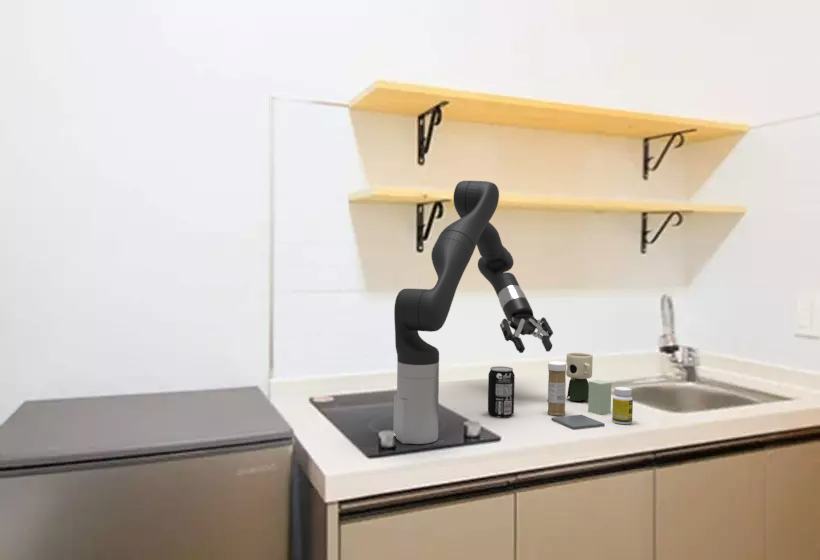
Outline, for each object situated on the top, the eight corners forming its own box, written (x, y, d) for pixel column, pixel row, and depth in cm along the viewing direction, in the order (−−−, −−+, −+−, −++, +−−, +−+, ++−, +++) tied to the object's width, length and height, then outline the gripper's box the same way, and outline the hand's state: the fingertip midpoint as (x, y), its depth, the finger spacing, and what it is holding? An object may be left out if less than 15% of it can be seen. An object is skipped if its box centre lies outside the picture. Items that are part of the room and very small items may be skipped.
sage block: (599, 414, 165) (600, 384, 165) (588, 411, 169) (588, 381, 168) (610, 413, 167) (611, 382, 167) (598, 409, 171) (599, 379, 170)
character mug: (557, 396, 186) (558, 351, 185) (580, 395, 187) (581, 351, 187) (576, 405, 175) (577, 358, 174) (600, 404, 177) (601, 357, 176)
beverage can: (496, 410, 169) (497, 365, 168) (518, 414, 164) (519, 368, 164) (482, 415, 164) (483, 368, 163) (505, 419, 159) (506, 371, 159)
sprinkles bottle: (562, 411, 168) (563, 360, 167) (567, 416, 163) (568, 364, 163) (545, 411, 168) (546, 360, 167) (549, 416, 163) (550, 363, 162)
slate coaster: (573, 429, 151) (573, 427, 151) (551, 419, 160) (551, 417, 160) (604, 426, 155) (604, 423, 155) (581, 416, 163) (581, 414, 163)
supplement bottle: (631, 425, 155) (632, 391, 155) (611, 423, 157) (612, 389, 157) (632, 420, 160) (633, 387, 159) (612, 418, 161) (613, 385, 161)
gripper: (497, 296, 179) (518, 343, 169) (541, 295, 184) (564, 341, 174) (488, 313, 184) (508, 360, 174) (531, 312, 189) (552, 357, 179)
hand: (536, 350), depth 174 cm, fingers open, 8 cm apart
